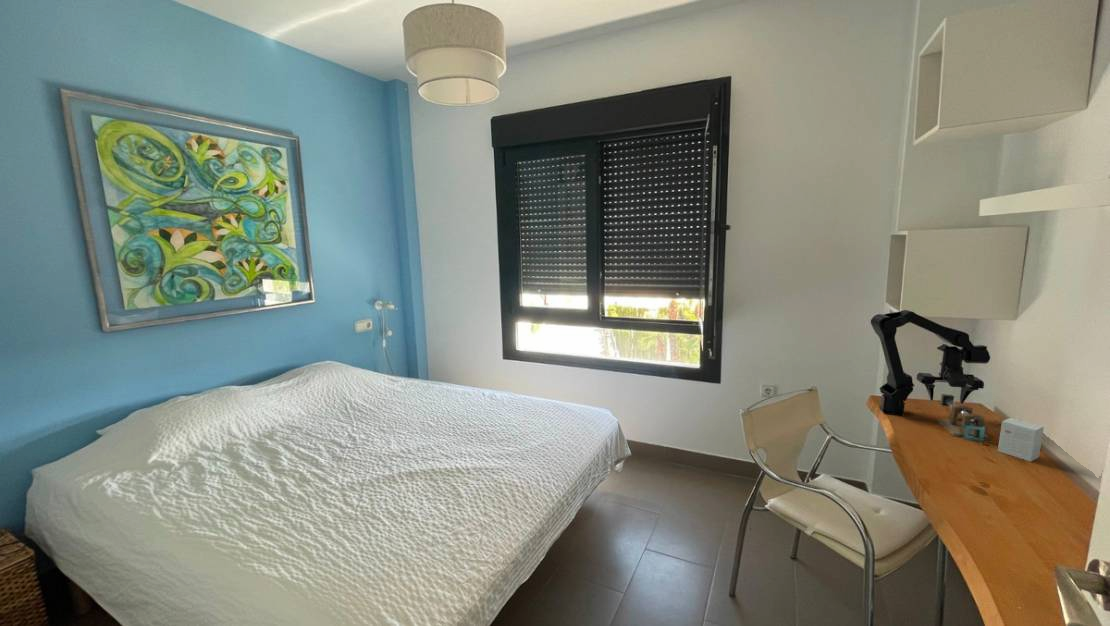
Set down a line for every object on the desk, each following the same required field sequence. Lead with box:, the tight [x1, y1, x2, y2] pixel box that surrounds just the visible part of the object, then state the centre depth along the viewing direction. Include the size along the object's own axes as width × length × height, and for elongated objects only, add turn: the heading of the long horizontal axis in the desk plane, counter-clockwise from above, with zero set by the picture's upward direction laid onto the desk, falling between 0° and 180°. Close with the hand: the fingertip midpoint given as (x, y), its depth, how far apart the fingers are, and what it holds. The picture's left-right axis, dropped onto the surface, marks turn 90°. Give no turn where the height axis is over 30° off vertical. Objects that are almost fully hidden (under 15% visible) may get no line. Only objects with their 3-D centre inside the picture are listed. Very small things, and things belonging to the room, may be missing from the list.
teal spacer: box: [962, 424, 986, 442], centre depth 152 cm, size 5×1×5 cm, turn 69°
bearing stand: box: [937, 404, 991, 441], centre depth 158 cm, size 10×13×8 cm
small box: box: [997, 417, 1045, 463], centre depth 141 cm, size 8×6×10 cm
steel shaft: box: [940, 393, 977, 425], centre depth 162 cm, size 3×21×4 cm, turn 159°
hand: (946, 401), depth 171 cm, fingers open, 9 cm apart
